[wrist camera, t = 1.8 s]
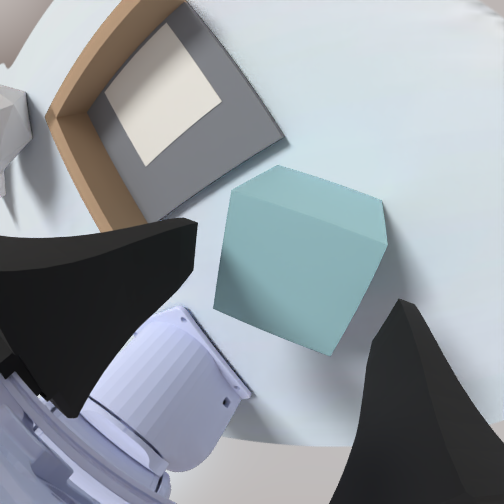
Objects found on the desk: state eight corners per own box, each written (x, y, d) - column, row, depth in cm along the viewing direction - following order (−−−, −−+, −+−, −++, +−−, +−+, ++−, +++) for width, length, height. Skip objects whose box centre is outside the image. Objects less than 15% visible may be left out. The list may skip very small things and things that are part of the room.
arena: (284, 136, 12) (261, 141, 10) (143, 231, 18) (112, 251, 15) (179, -8, 10) (142, -22, 8) (78, 111, 16) (44, 117, 13)
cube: (381, 199, 12) (387, 245, 8) (345, 288, 14) (330, 356, 10) (278, 164, 13) (231, 190, 9) (257, 254, 16) (213, 308, 11)
